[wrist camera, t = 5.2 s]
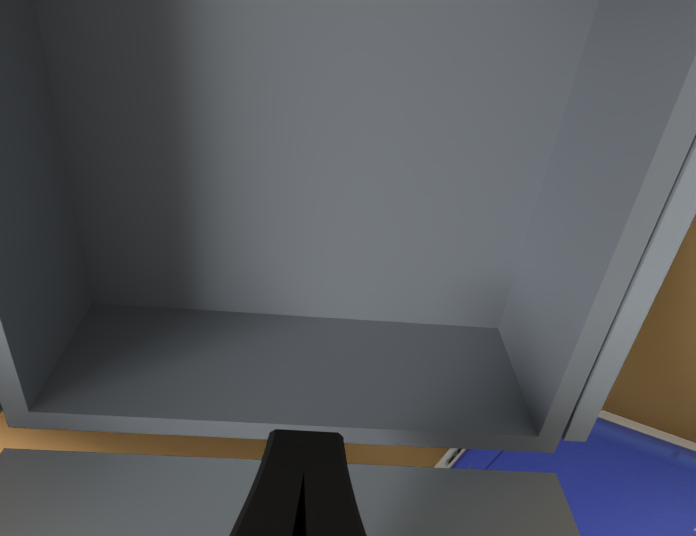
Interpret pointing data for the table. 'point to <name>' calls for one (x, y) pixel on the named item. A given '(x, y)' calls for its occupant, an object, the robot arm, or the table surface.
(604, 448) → the hard drive
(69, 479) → the flap
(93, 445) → the table surface
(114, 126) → the carton
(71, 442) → the table surface
